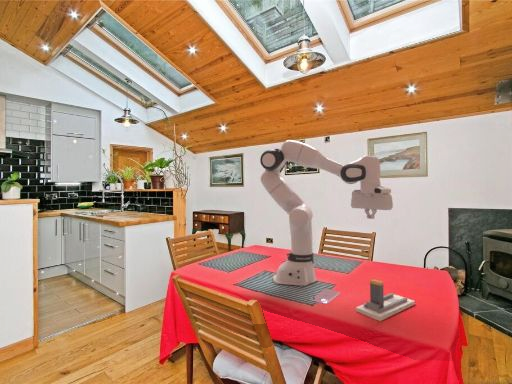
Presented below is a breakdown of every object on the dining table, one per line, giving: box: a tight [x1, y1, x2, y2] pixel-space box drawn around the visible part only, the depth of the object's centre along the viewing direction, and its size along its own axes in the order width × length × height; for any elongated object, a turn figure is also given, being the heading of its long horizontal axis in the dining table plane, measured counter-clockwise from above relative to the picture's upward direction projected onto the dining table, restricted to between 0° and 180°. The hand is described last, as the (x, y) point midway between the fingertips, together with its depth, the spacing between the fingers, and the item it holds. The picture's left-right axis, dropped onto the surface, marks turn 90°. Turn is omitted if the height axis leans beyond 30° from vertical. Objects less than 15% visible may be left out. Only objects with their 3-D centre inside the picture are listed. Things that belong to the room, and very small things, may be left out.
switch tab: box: [369, 278, 385, 308], centre depth 106 cm, size 3×4×10 cm, turn 33°
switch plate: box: [355, 292, 416, 322], centre depth 109 cm, size 24×10×4 cm, turn 123°
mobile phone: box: [310, 288, 341, 305], centre depth 122 cm, size 8×1×15 cm
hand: (370, 218), depth 132 cm, fingers closed
